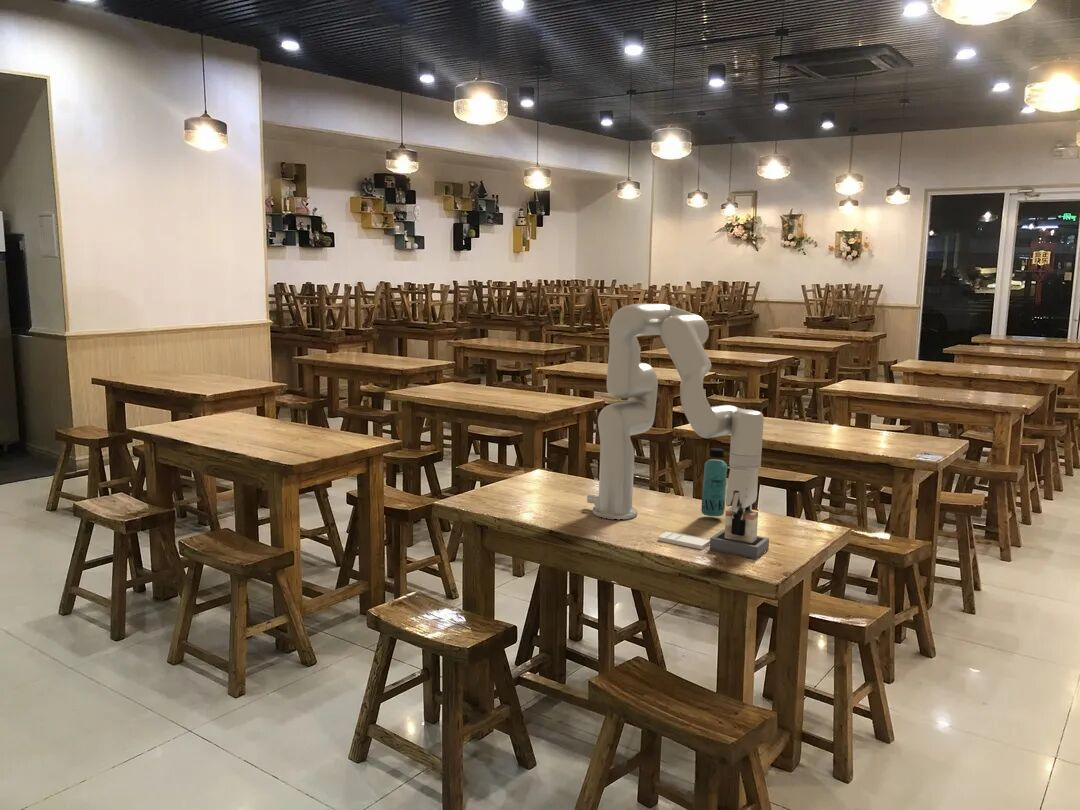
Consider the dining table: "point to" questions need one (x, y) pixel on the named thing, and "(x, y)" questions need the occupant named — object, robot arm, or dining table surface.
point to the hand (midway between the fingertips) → (740, 532)
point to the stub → (750, 526)
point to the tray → (739, 545)
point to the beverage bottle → (714, 484)
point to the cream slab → (684, 540)
